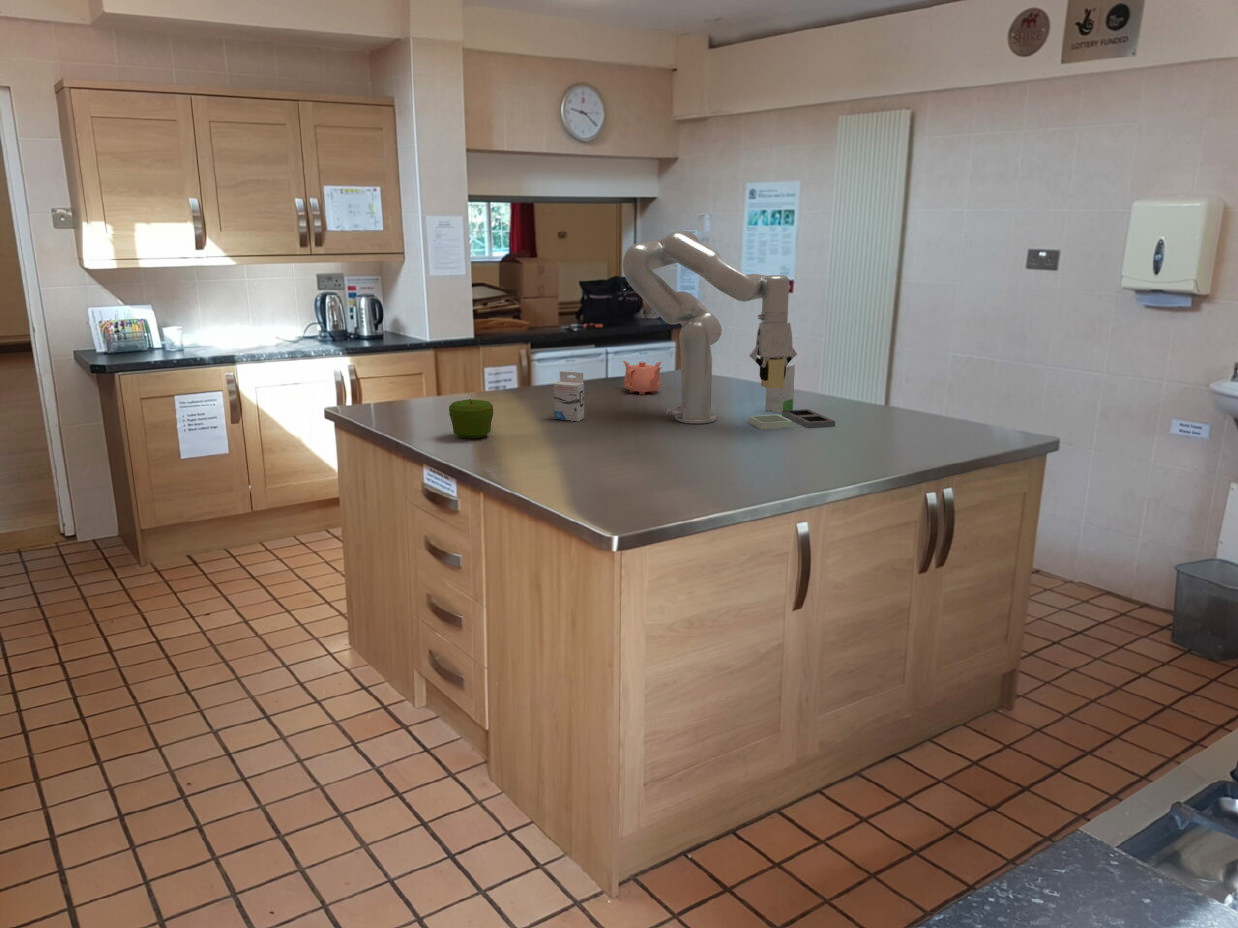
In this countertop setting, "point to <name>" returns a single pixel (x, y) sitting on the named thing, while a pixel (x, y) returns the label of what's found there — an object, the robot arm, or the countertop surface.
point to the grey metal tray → (808, 418)
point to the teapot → (642, 378)
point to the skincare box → (781, 394)
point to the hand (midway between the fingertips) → (772, 378)
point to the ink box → (569, 397)
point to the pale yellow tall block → (774, 373)
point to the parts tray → (770, 421)
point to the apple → (471, 418)
